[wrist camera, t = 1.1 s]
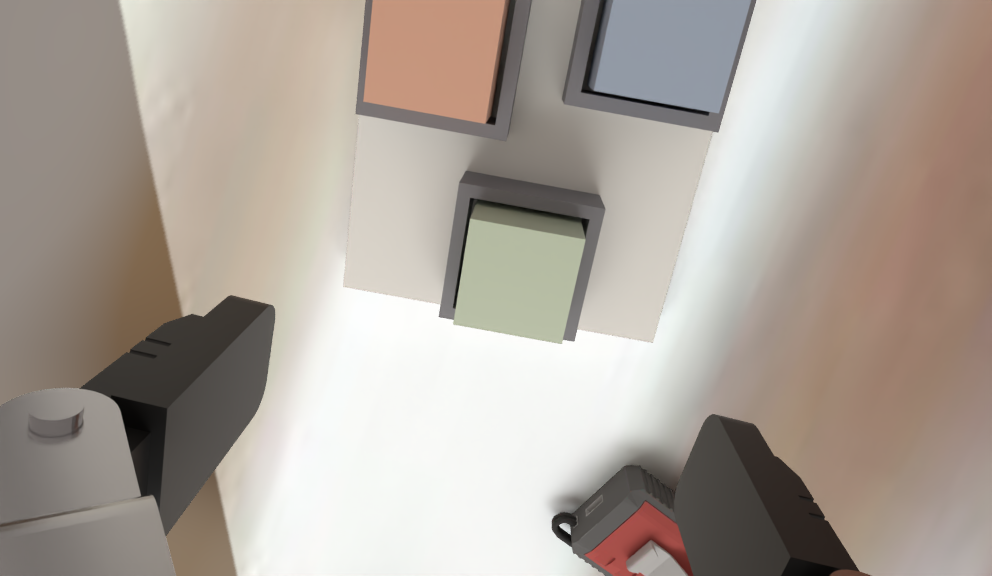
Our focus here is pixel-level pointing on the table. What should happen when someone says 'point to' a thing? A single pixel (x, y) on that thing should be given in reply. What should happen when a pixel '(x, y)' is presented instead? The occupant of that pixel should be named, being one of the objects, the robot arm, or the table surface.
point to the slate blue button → (668, 50)
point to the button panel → (532, 175)
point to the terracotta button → (436, 56)
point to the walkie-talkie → (628, 528)
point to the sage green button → (519, 271)
